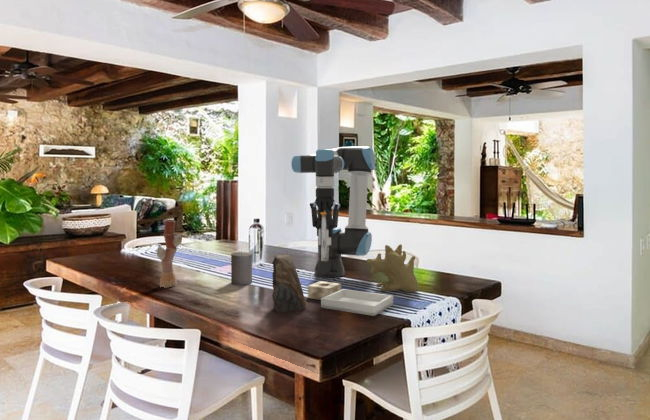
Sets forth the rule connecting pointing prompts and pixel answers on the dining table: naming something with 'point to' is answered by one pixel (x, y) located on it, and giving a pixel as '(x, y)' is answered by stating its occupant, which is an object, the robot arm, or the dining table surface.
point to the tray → (357, 302)
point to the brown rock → (286, 285)
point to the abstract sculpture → (168, 254)
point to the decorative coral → (395, 270)
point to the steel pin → (324, 237)
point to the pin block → (322, 289)
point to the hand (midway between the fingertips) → (324, 244)
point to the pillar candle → (241, 268)
